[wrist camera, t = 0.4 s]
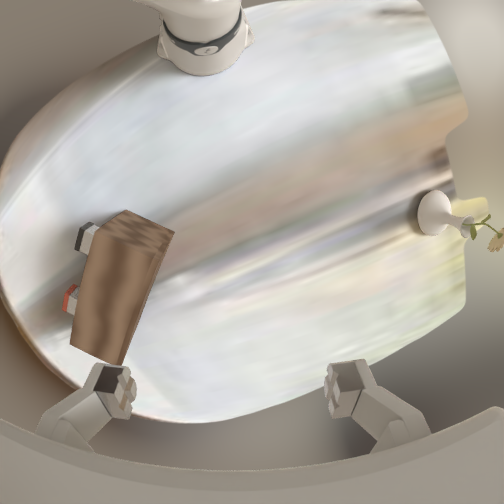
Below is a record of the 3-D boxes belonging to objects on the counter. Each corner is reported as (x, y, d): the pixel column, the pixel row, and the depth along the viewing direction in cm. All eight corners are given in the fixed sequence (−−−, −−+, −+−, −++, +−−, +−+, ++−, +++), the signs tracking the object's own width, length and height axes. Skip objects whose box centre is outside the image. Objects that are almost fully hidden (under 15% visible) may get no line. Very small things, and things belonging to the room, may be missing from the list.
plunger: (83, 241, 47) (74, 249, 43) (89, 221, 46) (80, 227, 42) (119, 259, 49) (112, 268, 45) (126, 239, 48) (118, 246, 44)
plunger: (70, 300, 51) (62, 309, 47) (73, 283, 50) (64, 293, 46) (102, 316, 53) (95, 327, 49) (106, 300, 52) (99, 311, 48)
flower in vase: (417, 240, 63) (487, 281, 39) (409, 197, 59) (488, 225, 35) (451, 222, 62) (521, 254, 39) (446, 181, 58) (522, 202, 35)
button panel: (96, 303, 59) (69, 344, 44) (126, 209, 53) (94, 230, 38) (138, 323, 62) (120, 368, 47) (174, 232, 56) (159, 261, 41)
